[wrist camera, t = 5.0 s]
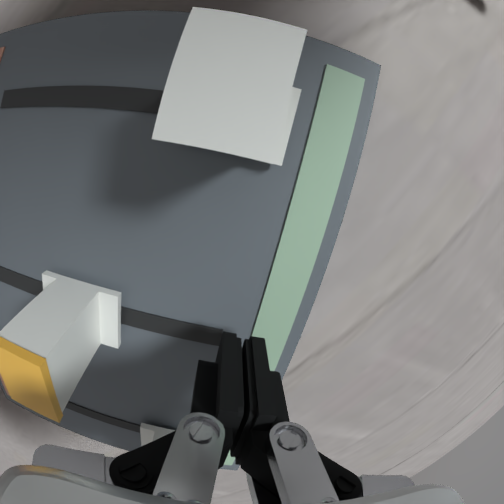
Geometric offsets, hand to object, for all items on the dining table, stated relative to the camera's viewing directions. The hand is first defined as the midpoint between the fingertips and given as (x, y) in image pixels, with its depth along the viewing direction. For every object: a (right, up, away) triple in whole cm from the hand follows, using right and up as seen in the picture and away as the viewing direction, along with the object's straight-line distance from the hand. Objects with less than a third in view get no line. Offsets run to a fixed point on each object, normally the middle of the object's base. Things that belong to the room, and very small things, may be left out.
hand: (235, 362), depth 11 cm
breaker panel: (-7, +3, +3) cm, 8 cm away
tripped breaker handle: (-7, +2, 0) cm, 7 cm away
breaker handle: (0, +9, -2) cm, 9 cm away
